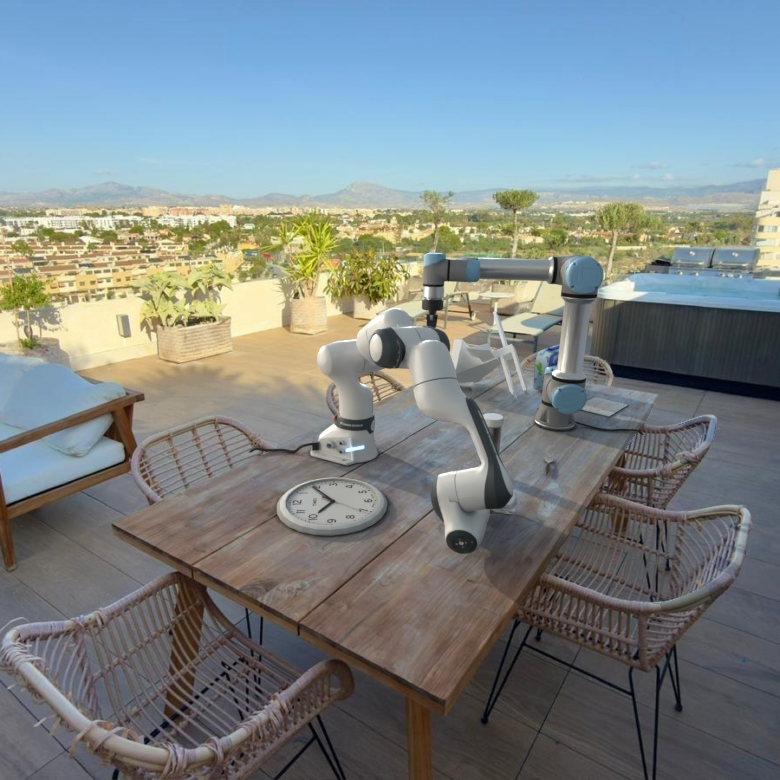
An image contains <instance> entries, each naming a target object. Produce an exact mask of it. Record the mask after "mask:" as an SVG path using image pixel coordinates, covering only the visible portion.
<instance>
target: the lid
mask: <svg viewBox="0 0 780 780" xmlns="http://www.w3.org/2000/svg"><path fill="white" fill-rule="evenodd" d="M482 415H483V417H484V419H485V422H486V424H487V426H488V427H501V426H503V425H504V416H503V415H502V414H500V413H496V412H495V413H492V412H487V413H484V414H482ZM501 428H502V427H501Z"/></svg>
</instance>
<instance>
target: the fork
mask: <svg viewBox="0 0 780 780" xmlns="http://www.w3.org/2000/svg"><path fill="white" fill-rule="evenodd" d="M552 452H553V453H552ZM554 455H555V452H554V451H551V452H550V453H548V452H546V453H545V459H544V461H545V462H547V464H546V466H545V475H546V476H548V473H549V471H550V468H551V467H550V464H551V463H553V462H554V458H555V456H554Z"/></svg>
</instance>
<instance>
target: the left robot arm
mask: <svg viewBox="0 0 780 780" xmlns="http://www.w3.org/2000/svg"><path fill="white" fill-rule="evenodd" d="M316 364H317V367H318V369H319V371H320V372H321V373H322V374H323V375H324V376H326V377H327V378H328V379H330V380H331V381H332V382H333V384H334V385H335V387H336V390H337V393H338V403H339V404H338V407H339V410H338V411H337V412H336V413H335V414H334V415H333V417H332V418H331V419H332V422H334V423H333V424H331V425H330V426H328V427H327V428H325V429H324V430H323V431H321V433H320V434H319V436H314V437H312V440H311V441H312V442H308V443H303V444H301V445H299V446H298V447H297V448H295V449H292V450H291V449H287V448H263V447H252V448H251V449H250V450H249V451H248V453H249V454H250V453H253V452H254V451H261V452H267V453H268V452H269V453H270V452H286V453H289V454H291V453H292V454H294V453H298V452H299V451H300V450H301V449H303V448H305V447H310V446H311V449H310V456H311V457H313V458H317V459H321V460H325V461H329V462H333V463H336V464H339V465H344V466H350V465H354V464H360V463H365V462H369V461H372V460H374V459H375V458H377V457H378V455H379V451H378V449H377V443H376V439H375V438H376V437H375V430H376V429H375V428H376V427H375V426H376V420H375V418H376V417H375V412H374V392H373V390H372V389H371V387H369V385H367V384H364V383H362V382H360V379H359V375H362V374H369V373H375V372H379V371H382V370H384V369H388V370H392V369H393V370H394V369H400V370H401V369H402V370H409V372H410V376H411V384H412V390H413V396H414V400H415V403H416V407H417V408H418V410H419V411H420V412H421V413H422V414H423V415H424V416H426V417H427V418H429V419H432V420H434V421H438V422H439V421H440V422H445V423H453V424H457V425H460V426H462V427H464V428H465V429H466V430H467V431H468V432H469V435H470V437H471V439H472V442H473V445H474V447H475V450H476V452H477V455H478V457H479V460H480V462H481V465H478V466H473V467H469V468H464V469H459V470H458V469H456V470H452V471H447V472H443V473H438V474H437V475H436V477H435V478H434V481H433V482H432V485H431V489H430V501H431V505H432V508H433V510H434V513H435V514H436V516H437V517H438V518H439V519H440V520H441V521H442V523H443V524H444V541H445V544H446V546H447V547H448V548H449V550H451V551H452V552H455V553H458V554H462V555H467V554H472V553H473V552H475V551H476V550H478V548H479V547H480V546H481V545H482V542H483V540H484V537H485V534H486V530H487V525H488V522H489V519H490V515H495V516H496V515H497V516H500V517H501V516H502V517H510V516H511V515H516V512H517V507H516V505H517V501H518V499H517V498H518V494H517V493H516V492H514V487H513V482H512V479H511V477H510V475H509V473H508V471H507V469H506V467H505V464H504V463H503V461H502V459H501V456H500V453H499V454H498V451H497V449H496V446H495V444H494V441H493V439H492V436H491V434H490V431H489V429H488V426H487V424H486V422H485V419H484V417H483V415H484V414H483V412H482V410H481V408H480V407H479V404H478V403H477V402H476V400H475V399H474V398H473V397H469V396H467V395H466V394H465V392H464V391H463V390H462V388H461V386H460V383H458V379H457V375H456V371H455V367H454V364H453V361H452V358H451V341H450V339H449V337H448V335H447V333H446V332H445V331H443V330H442V329H439V328H437V327H436V328H433V327H429V326H427V325H425V324H424V325H421V326H418V325H416V326H415V325H414V324H413V320H412V318H411V316H410V315H409V314H408V312H406V311H405V310H403V309H402V308H398V307H393V308H392V307H391V308H389V309H386V310H384V311H382V312H380V313H379V314H377V315H376V316H374V317H373V318H372V319H370V320H369V321H368V322H367V323H366V324H365V325H364V326H363V327H362V328H360V330H359V331H358V333H357V335H356V338H354V339H348V340H347V339H346V340H337V341H333V342H330V343H327V344H324V345H322V346H321V347H320V348H319V350H318V352H317V356H316Z"/></svg>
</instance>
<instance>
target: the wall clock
mask: <svg viewBox="0 0 780 780" xmlns="http://www.w3.org/2000/svg"><path fill="white" fill-rule="evenodd" d="M387 509H388V500H387V498H386V496H385V494H384V493H383V492H382V491H381V490H380V489H379V488H377V487H376V486H374V485H372V484H371V483H369V482H365V481H362V480H359V479H355V478H349V477H338V476H337V477H335V476H333V477H332V476H331V477H322V478H317V479H312V480H307V481H305V482H302V483H299V484H297V485H295V486H293V487H292V488H290V489H288V490H287V491H286V492H285V493H284V494H283V495H281V496H280V498H279V499H278V502H277V503H276V515H277V517H278V518H279V520H280V521H281V522H282V523H283V524H285V525H286V526H287V527H288V528H290V529H293V530H295V531H297V532H299V533H303V534H308V535H312V536H327V537H328V536H329V537H331V536H332V537H333V536H342V535H350V534H352V533H356V532H361V531H363V530H366V529H368V528H369V527H372V526H373V525H375V524H376V523H378V522H379V521H380V520H381V519H382V518H383V517H384V516H385V514H386V512H387Z"/></svg>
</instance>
